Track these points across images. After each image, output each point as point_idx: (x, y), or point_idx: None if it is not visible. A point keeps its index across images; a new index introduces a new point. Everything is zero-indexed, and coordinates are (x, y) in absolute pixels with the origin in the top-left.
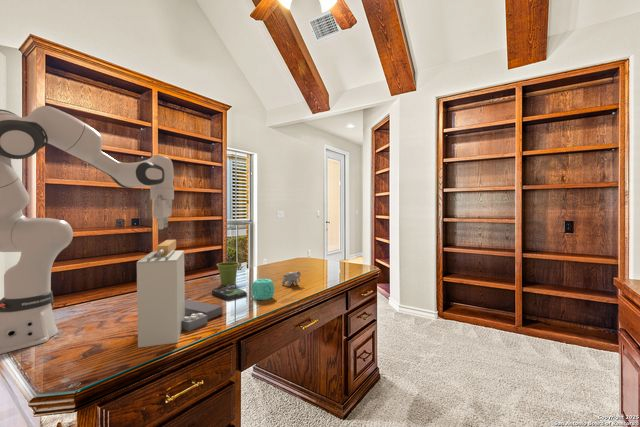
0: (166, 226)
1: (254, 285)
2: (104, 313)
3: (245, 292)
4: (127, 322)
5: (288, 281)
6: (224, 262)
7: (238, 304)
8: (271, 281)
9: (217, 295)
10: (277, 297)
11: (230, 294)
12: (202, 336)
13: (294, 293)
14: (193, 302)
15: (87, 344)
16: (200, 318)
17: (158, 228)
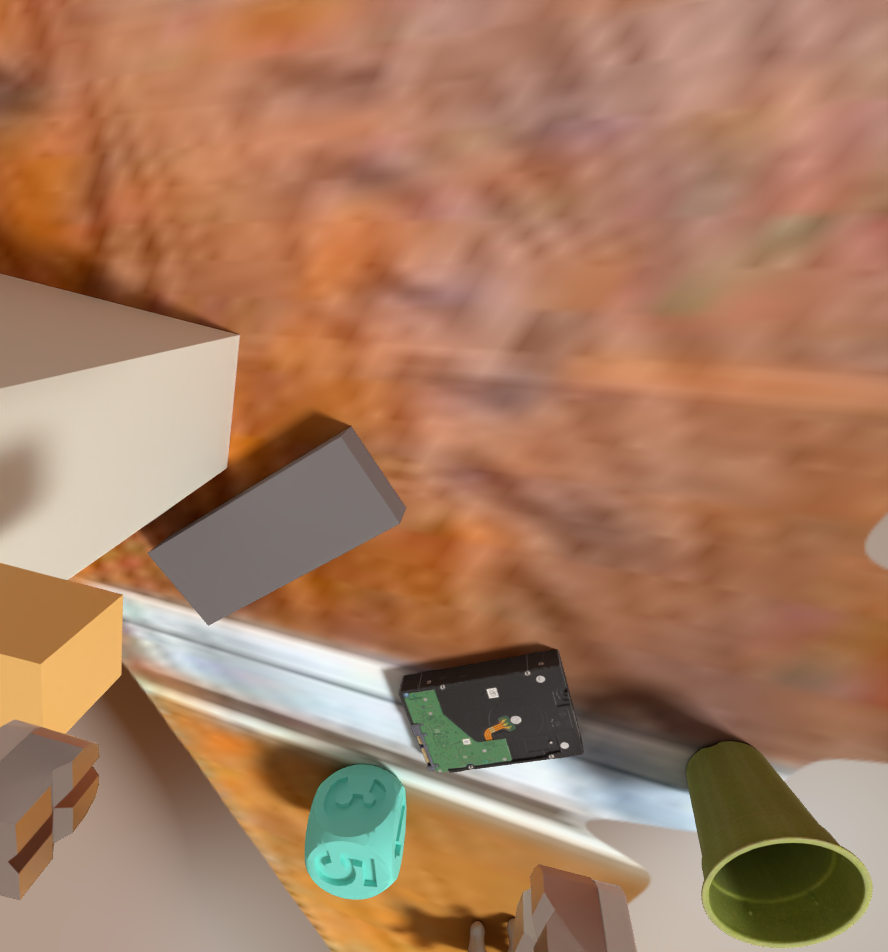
0: (515, 939)
1: (355, 820)
2: (528, 74)
3: (428, 766)
4: (287, 218)
5: (474, 950)
6: (865, 898)
7: (321, 690)
8: (325, 889)
9: (499, 663)
10: None
11: (422, 708)
12: None
13: None
14: (328, 538)
15: (48, 43)
16: None
17: (5, 730)
